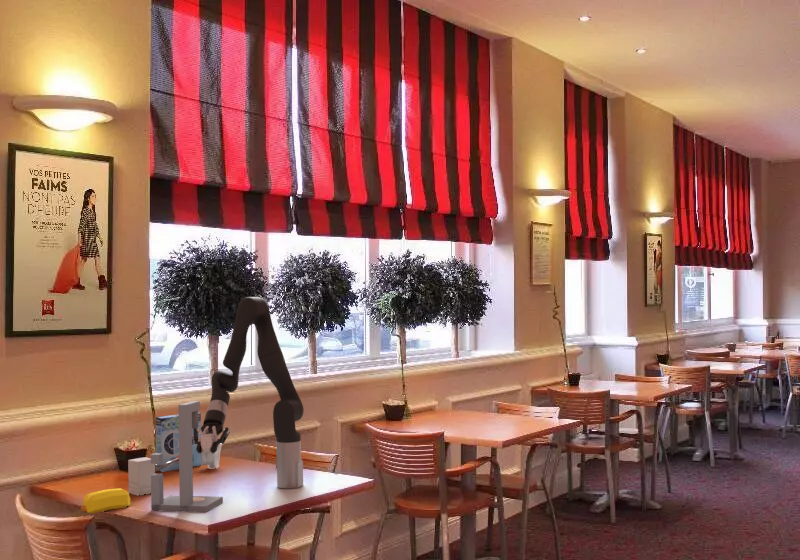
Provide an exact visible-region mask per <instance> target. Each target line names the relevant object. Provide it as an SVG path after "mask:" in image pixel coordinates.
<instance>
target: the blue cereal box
mask: <svg viewBox="0 0 800 560" xmlns="http://www.w3.org/2000/svg"><path fill="white" fill-rule="evenodd" d="M201 415H202V414H201V412H198V428H197V429H199V428H201V427H202V426H201V425H202V421H201V419H202V416H201ZM193 429H194V428H193ZM193 429H192V457H193V467H198V466H199V467H200V466H202V465H201V453H198V452H197V450H196V448H197V444H195V441H194V430H193ZM200 434H202V431H201V432H200ZM200 434H199V435H198V439H199V438H200V436H201V435H200ZM155 442H156V443H155V453H163V462H162V463H159V464H157V465H161V464H163V463H166V462H168V461H171V460H173V459H176V457H177V456H178V455H179V419H178V414H172V415H170V414H169V415H164V416H155ZM176 470H179V463H175V464H173V465H171V466H168V467H166V468H163V469H161V470H160V471H161V472H160V473H165V472H170V471H176Z"/></svg>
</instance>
